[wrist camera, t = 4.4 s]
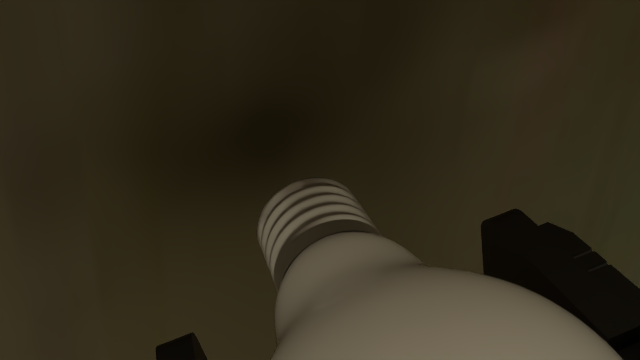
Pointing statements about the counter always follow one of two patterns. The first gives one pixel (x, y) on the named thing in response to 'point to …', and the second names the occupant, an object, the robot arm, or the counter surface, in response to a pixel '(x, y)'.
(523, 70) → the counter surface
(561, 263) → the robot arm
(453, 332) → the lightbulb
